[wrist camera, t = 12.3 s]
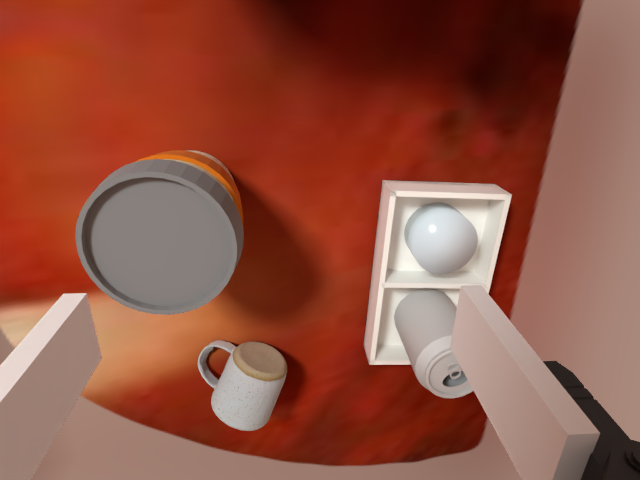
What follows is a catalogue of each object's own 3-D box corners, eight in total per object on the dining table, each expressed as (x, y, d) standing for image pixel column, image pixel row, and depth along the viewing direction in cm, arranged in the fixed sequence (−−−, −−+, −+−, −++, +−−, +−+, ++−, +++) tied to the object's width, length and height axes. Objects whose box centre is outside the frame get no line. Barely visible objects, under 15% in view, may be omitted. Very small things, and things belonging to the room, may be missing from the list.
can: (401, 343, 56) (429, 414, 45) (385, 296, 53) (411, 360, 42) (456, 324, 56) (499, 391, 45) (443, 276, 53) (485, 335, 42)
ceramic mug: (291, 345, 56) (291, 387, 49) (270, 393, 59) (267, 439, 52) (210, 323, 54) (198, 363, 47) (193, 373, 57) (179, 418, 50)
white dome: (408, 201, 49) (418, 213, 45) (468, 203, 49) (483, 215, 46) (400, 258, 51) (409, 273, 48) (457, 259, 52) (471, 274, 48)
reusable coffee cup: (235, 121, 45) (214, 150, 31) (265, 231, 50) (258, 299, 36) (115, 146, 45) (41, 188, 31) (157, 255, 50) (109, 331, 36)
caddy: (382, 180, 48) (390, 190, 45) (495, 184, 50) (511, 194, 46) (363, 344, 57) (369, 364, 53) (460, 344, 58) (472, 364, 54)
